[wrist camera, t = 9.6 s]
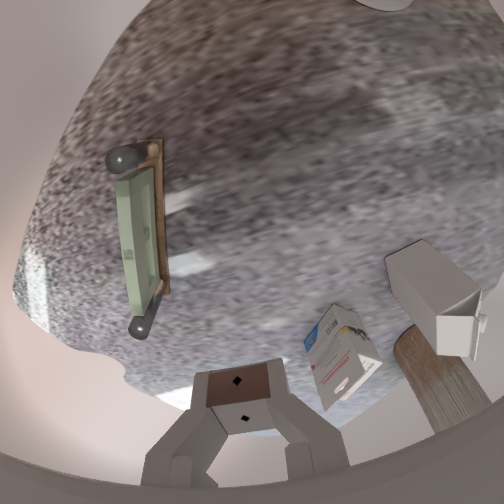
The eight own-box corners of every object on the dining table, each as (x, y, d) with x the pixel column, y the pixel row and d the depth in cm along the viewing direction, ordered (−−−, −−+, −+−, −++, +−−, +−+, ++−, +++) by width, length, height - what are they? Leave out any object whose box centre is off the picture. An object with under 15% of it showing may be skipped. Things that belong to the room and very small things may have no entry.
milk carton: (391, 293, 43) (451, 376, 26) (383, 256, 41) (454, 338, 23) (427, 275, 42) (495, 347, 25) (422, 238, 40) (502, 305, 22)
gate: (142, 167, 33) (115, 180, 25) (153, 166, 33) (128, 180, 25) (150, 278, 39) (132, 315, 31) (159, 279, 39) (143, 316, 31)
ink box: (326, 349, 47) (350, 418, 34) (303, 341, 46) (322, 413, 33) (357, 312, 45) (392, 379, 31) (333, 301, 43) (365, 371, 30)
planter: (402, 367, 51) (447, 455, 31) (385, 344, 48) (437, 444, 27) (441, 338, 49) (496, 419, 28) (429, 311, 46) (496, 401, 25)
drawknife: (139, 140, 33) (101, 148, 23) (163, 138, 33) (133, 145, 23) (149, 290, 41) (127, 338, 31) (170, 291, 41) (153, 341, 31)
